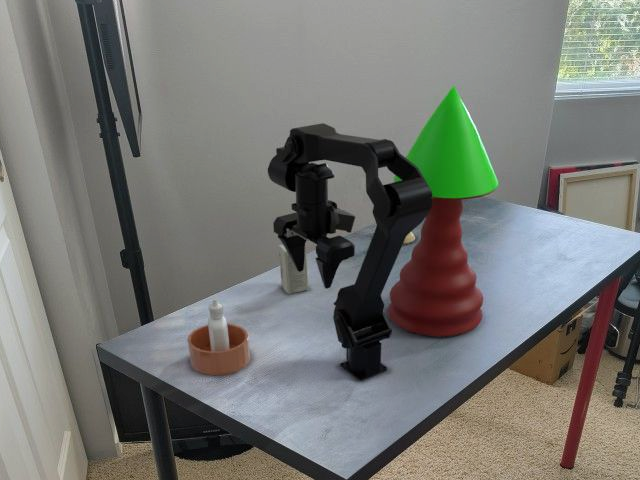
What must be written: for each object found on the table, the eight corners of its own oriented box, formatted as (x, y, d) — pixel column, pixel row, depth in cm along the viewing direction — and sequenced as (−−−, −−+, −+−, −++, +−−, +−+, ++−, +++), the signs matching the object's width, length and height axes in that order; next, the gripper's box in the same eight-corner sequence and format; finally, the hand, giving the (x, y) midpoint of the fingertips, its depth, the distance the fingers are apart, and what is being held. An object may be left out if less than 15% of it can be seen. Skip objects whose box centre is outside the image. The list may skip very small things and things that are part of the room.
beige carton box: (301, 282, 165) (299, 240, 159) (308, 290, 162) (307, 247, 156) (279, 286, 163) (277, 244, 157) (286, 294, 160) (284, 251, 154)
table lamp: (488, 301, 158) (517, 78, 132) (473, 345, 143) (502, 102, 116) (401, 289, 163) (412, 71, 137) (376, 329, 147) (383, 92, 121)
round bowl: (260, 362, 137) (259, 340, 134) (207, 381, 131) (205, 359, 128) (232, 339, 144) (229, 317, 141) (180, 356, 138) (177, 334, 136)
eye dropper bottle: (204, 362, 135) (196, 304, 128) (216, 347, 140) (210, 291, 133) (225, 366, 134) (219, 308, 127) (237, 351, 139) (232, 294, 132)
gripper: (379, 204, 127) (377, 286, 137) (319, 177, 140) (320, 253, 149) (327, 218, 122) (328, 301, 131) (269, 188, 134) (274, 266, 143)
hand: (313, 279), depth 139 cm, fingers open, 9 cm apart
